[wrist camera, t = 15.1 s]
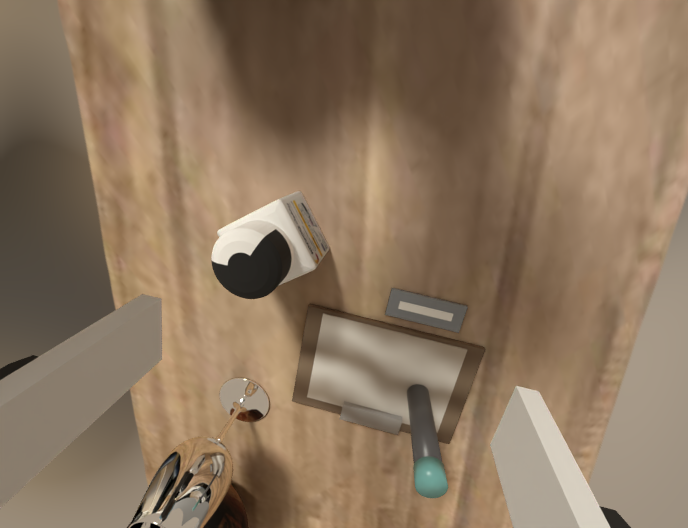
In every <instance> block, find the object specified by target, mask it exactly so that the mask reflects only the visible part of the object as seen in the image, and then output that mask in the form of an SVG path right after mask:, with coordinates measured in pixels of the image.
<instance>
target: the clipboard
mask: <svg viewBox="0 0 688 528" xmlns="http://www.w3.org/2000/svg"><path fill="white" fill-rule="evenodd" d="M484 351H485V348H484V347H481V346H477V345H473V344H469V343H465V342H461V341H457V340H453V339H449V338H445V337H441V336H437V335H433V334H429V333H425V332H421V331H417V330H413V329H409V328H405V327H401V326H397V325H393V324H389V323H385V322H381V321H377V320H373V319H369V318H364V317H360V316H356V315H352V314H348V313H344V312H340V311H336V310H332V309H328V308H324V307H320V306H316V305H312V304H309V306H308V312H307V318H306V324H305V329H304V335H303V341H302V347H301V352H300V358H299V364H298V370H297V375H296V381H295V387H294V393H293V398H292V401H294V402H298V403H301V404H305V405H308V406H312V407H316V408H319V409H323V410H327V411H330V412H334V413H338V414H341V415H340V419H341V420H345V421H349V422H352V423H356V424H360V425H363V426H367V427H370V428H374V429H378V430H381V431H385V432H389V433H392V434H396V435H398V433H399V430H400V431H403V432H407V433H411V430H410V420H409V410H408V401H407V390H408V388H409V387H410V386H412V385H415V384H421V385H424V386H425V387H426V388H427V389H428V391H429V395H430V401H431V406H432V411H433V416H434V422H435V427H436V432H437V437H438V441H440V442H443V443H447V444H449V443H450V441H451V438H452V436H453V433H454V430H455V428H456V425H457V422H458V420H459V417H460V415H461V412H462V409H463V407H464V404H465V401H466V399H467V396H468V394H469V391H470V388H471V386H472V383H473V380H474V378H475V375H476V373H477V370H478V367H479V365H480V362H481V359H482V357H483V354H484Z"/></svg>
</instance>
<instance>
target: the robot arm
mask: <svg viewBox="0 0 688 528" xmlns="http://www.w3.org/2000/svg"><path fill="white" fill-rule="evenodd" d="M161 359H162V311H161V298H157V297H153V296H148V295H144V294H142V295H140V296H138V297H137V298H135V299H133V300H132V301H130V302H129V303H127V304H125V305H124V306H122V307H120V308H119V309H117V310H115V311H114V312H112V313H110V314H109V315H107V316H105V317H104V318H102V319H100V320H99V321H97V322H96V323H94V324H92V325H91V326H89V327H88V328H86V329H84V330H82V331H81V332H79V333H77V334H76V335H74V336H72V337H71V338H69V339H68V340H66V341H64V342H63V343H61V344H59V345H58V346H56V347H54V348H53V349H51V350H50V351H48V352H46V353H45V354H43V355H41V356H39V357H38V356H34V355H32V356H30V357H27V358H24V359H21V360H18V361H16V362H13V363H10V364H8V365H6V366H5V367H3V368H1V369H0V508H1V507H2V506H3V505H4V504H5V503H7V502H8V501H9V500H10V499H11V498H12V497H13V496H14V495H15V494H16V493H17V492H18V491H19V490H20V489H22V488H23V487H24V486H25V485H26V484H27V483H28V482H29V481H30V480H31V479H33V478H34V477H35V476H36V475H37V474H38V473H39V472H40V471H41V470H42V469H43V468H44V467H46V465H48V464H49V463H50V462H51V461H52V460H53V459H54V458H55V457H56V456H57V455H58V454H59V453H60V452H62V451H63V450H64V449H65V448H66V447H67V446H68V445H69V444H70V443H72V442H73V441H74V440H75V439H76V438H77V437H78V436H79V435H80V434H81V433H82V432H83V431H84V430H86V429H87V428H88V427H89V426H90V425H91V424H92V423H93V422H94V421H95V420H96V419H98V417H100V416H101V415H102V414H103V413H104V412H105V411H106V410H107V409H108V408H109V407H110V406H112V405H113V404H114V403H115V402H116V401H117V400H118V399H119V398H120V397H121V396H122V395H123V394H125V393H126V392H127V391H128V390H129V389H130V388H131V387H132V386H133V385H134V384H135V383H137V382H138V381H139V380H140V379H141V378H142V377H143V376H144V375H145V374H146V373H147V372H148V371H150V370H151V369H152V368H153V367H154V366H155V365H156V364H157V363H158V362H159V361H160V360H161ZM490 446H491V449H492V453H493V457H494V460H495V464H496V467H497V471H498V475H499V478H500V482H501V485H502V489H503V493H504V496H505V500H506V503H507V507H508V511H509V514H510V518H511V521H512V525H513V528H631V527H630V526H629V525H628V524H627V523H626V522H625V521H624V519H623V518H622V517H621V516H620V515H619V514H618V513H617V511H615V510H612V509H608V508H604V507H600V506H599V505H598V503H597V501H596V499H595V497H594V495H593V493H592V492H591V489H590V488H589V486H588V484H587V482H586V480H585V478H584V476H583V474H582V472H581V470H580V469H579V467H578V465H577V463H576V461H575V459H574V457H573V455H572V453H571V451H570V450H569V448H568V446H567V444H566V442H565V440H564V438H563V436H562V434H561V432H560V431H559V429H558V427H557V425H556V423H555V421H554V419H553V417H552V415H551V413H550V412H549V410H548V408H547V406H546V404H545V402H544V400H543V398H542V396H541V394H540V393H539V391H536V390H532V389H528V388H523V387H519V386H516V387H515V389H514V392H513V394H512V396H511V398H510V401H509V403H508V405H507V407H506V410H505V412H504V414H503V416H502V419H501V421H500V423H499V426H498V428H497V430H496V432H495V435H494V437H493V439H492V441H491V444H490Z"/></svg>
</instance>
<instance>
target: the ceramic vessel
mask: <svg viewBox="0 0 688 528" xmlns="http://www.w3.org/2000/svg"><path fill="white" fill-rule="evenodd" d="M129 526H130V524H129ZM129 526H128V527H127V528H129ZM204 528H248V522H247V516H246V512H245V508H244V505H243V503H242V501H241V499H240V497H239V495H238V493H237V491H236V490H235V489H234V487H233V486H232V485H230V487H229V489H228V492H227V494H226V496H225V497H224V499H223V501H222V503H221V504H220V506H219V507H218V509H217V510H216V512H215V513H214V515H213V516H212V517H211V519H210V520H209V521H208V523H207V524H206V525H205V527H204Z"/></svg>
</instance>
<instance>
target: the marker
mask: <svg viewBox="0 0 688 528" xmlns="http://www.w3.org/2000/svg"><path fill="white" fill-rule="evenodd" d="M407 401H408V410H409V420H410V430H411V439H412V449H413V459H414V466H413V469H414V479H415V488H416V490H417V492H418V493H419V494H420V495H422V496H424V497H427V498H438V497H441V496H442V495H444V494H445V493H446V492H447V489H448V484H447V479H446V474H445V469H444V465H443V463H442V458H441V453H440V448H439V443H438V437H437V432H436V427H435V422H434V416H433V411H432V406H431V401H430V395H429V391H428V389H427V388H426V387H425V386H424V385H421V384H415V385H412V386H410V387H409V388H408V390H407Z"/></svg>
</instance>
